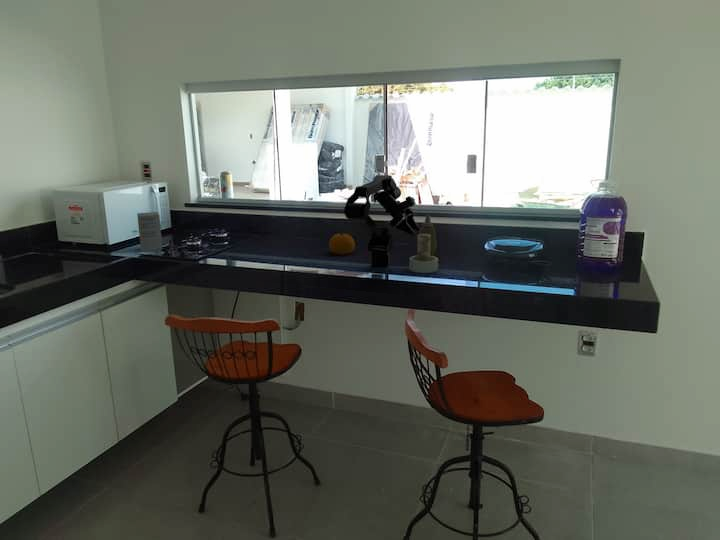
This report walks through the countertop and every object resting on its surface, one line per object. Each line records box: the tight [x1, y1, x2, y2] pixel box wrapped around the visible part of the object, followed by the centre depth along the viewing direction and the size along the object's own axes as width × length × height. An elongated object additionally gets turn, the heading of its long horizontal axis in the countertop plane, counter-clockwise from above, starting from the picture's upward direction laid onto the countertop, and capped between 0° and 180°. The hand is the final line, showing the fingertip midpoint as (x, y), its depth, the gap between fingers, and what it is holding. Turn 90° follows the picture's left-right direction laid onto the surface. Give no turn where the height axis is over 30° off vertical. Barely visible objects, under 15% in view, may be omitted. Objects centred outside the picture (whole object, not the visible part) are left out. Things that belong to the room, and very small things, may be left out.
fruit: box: [328, 231, 356, 256], centre depth 248 cm, size 12×12×10 cm
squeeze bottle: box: [419, 213, 437, 256], centre depth 242 cm, size 8×8×18 cm
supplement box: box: [136, 211, 164, 252], centre depth 259 cm, size 10×9×17 cm
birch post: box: [416, 233, 431, 261], centre depth 217 cm, size 5×5×13 cm
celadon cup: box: [408, 255, 439, 274], centre depth 219 cm, size 11×11×4 cm
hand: (416, 232), depth 223 cm, fingers open, 9 cm apart
